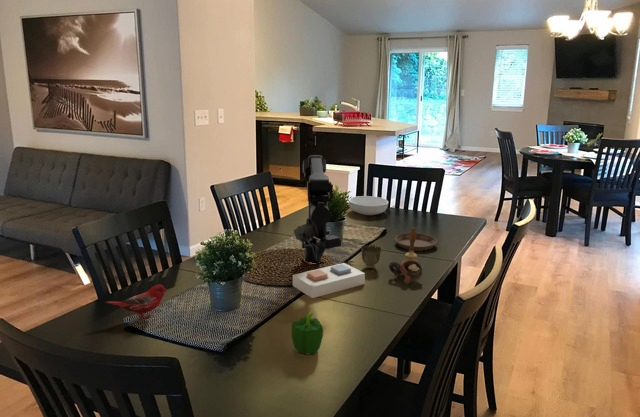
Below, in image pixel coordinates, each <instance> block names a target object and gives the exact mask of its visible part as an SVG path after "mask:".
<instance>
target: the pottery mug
mask: <svg viewBox="0 0 640 417" xmlns="http://www.w3.org/2000/svg"><path fill="white" fill-rule="evenodd" d="M413 264H415V265H416V266H417V267H418V268H419V271H417V273H413V270H411V269H409V266H410V265H413ZM388 268H389V271H390V272H392V273H393V275H394V276H395V277H399V276H400V275H403V276H404V277H405V278H404V280H403V283H404V284H406V285H408V284H410V283H412V282H416V281H418V280H420V278H422V275H423V268H422V265H421V264H420V263H419V262H416V261H414V260H405V261H404V262H403V261H402V262H396V261H392V262H390V263H389V265H388ZM409 274H410V275H409Z"/></svg>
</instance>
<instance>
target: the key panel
mask: <svg viewBox="0 0 640 417" xmlns="http://www.w3.org/2000/svg"><path fill="white" fill-rule="evenodd" d="M341 264H343V265H345V266H347V267H349V268H351V273H348V274H344V275H340V276H339V275H337V274H335V273H333V272H331V267H332V266H336V265H341ZM315 270H321V271H323V272H325V273H326V274H328V277H327V279H324V280H320V281H316V282H314V281H313V280H311V279H309V278H307V272H311V271H315ZM365 282H366V273H365V272H363V271H361V270H359V269H357V268H355V267H353V266H351V265H349V264H347V263H346V262H342V263H338V264H333V265H330V266H329V265H328V266H325V267H320V268H317V269H313V270H307V271H303V272H301V273H296V274H292V287H294V288H296V289H297V290H299V291H300V292H302V293H303V294H304V295H306V296H307V297H309V298H311V299H315V298H318V297H322V296H325V295H326V296H327V295H329V294H334V293H337V292H340V291H344V290H348V289H352V288H355V287H360V286H362V285H365Z"/></svg>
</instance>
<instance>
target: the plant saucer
mask: <svg viewBox="0 0 640 417" xmlns="http://www.w3.org/2000/svg"><path fill="white" fill-rule="evenodd" d="M409 234H410V232H407V233H401V234H398V235H396V236H395V237H394V238H395V241H396V243H397V244H398V246H399V247H400V248H403V249H406V250H408V251H409V249H410V240H409ZM437 242H438V240H437V239H436V238H435V237H433V236H432V235H429V234H424V233H417V232H416V240H415V243H414V251H417V252H421V251H423V250H425V251H428V249H429V250H431V249H432V248H434V246H435V245H436V244H437ZM423 252H424V251H423Z"/></svg>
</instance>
